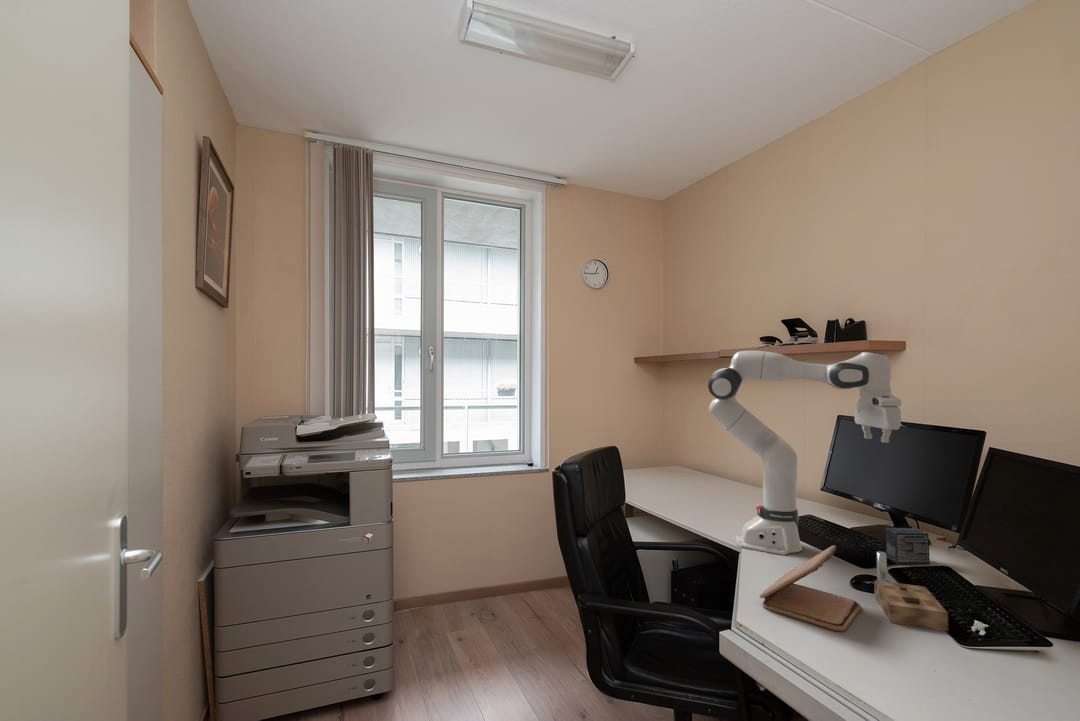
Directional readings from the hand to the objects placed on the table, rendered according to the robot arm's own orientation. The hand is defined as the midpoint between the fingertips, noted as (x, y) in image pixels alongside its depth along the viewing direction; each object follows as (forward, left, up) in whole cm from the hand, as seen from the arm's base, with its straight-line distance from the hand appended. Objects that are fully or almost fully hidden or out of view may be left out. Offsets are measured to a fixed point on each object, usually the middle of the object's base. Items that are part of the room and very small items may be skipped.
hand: (876, 440), depth 165 cm
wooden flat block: (-1, -36, -41) cm, 55 cm away
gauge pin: (-4, -23, -41) cm, 48 cm away
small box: (+10, +7, -42) cm, 43 cm away
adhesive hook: (+13, -41, -42) cm, 60 cm away
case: (-25, -42, -42) cm, 65 cm away
